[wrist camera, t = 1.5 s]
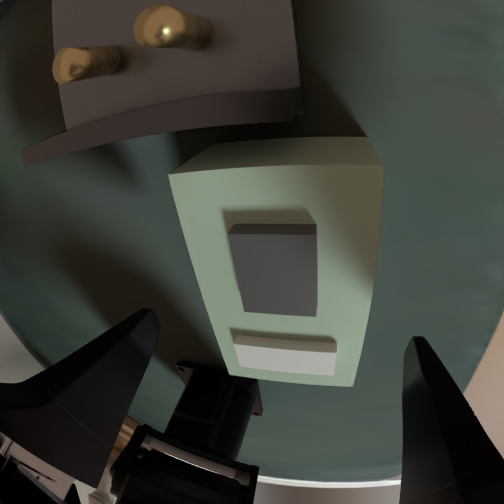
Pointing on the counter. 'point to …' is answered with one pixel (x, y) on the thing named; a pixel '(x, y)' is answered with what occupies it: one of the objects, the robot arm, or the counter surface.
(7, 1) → the disk drive
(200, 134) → the counter surface
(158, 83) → the chassis
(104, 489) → the candle holder
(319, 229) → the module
